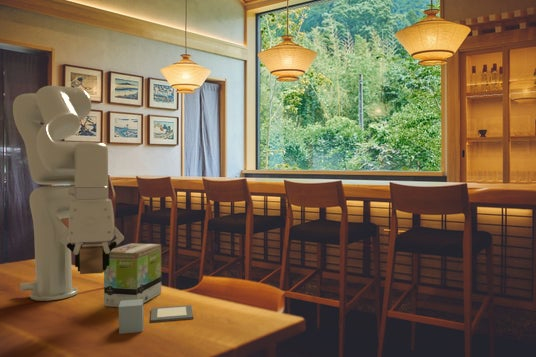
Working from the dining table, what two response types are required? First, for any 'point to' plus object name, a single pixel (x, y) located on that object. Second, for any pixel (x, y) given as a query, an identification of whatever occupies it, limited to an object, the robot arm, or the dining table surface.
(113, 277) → the tea box
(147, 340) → the dining table surface
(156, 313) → the slate mat
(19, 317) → the dining table surface
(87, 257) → the walnut block
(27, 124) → the robot arm
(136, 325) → the blue-grey block
